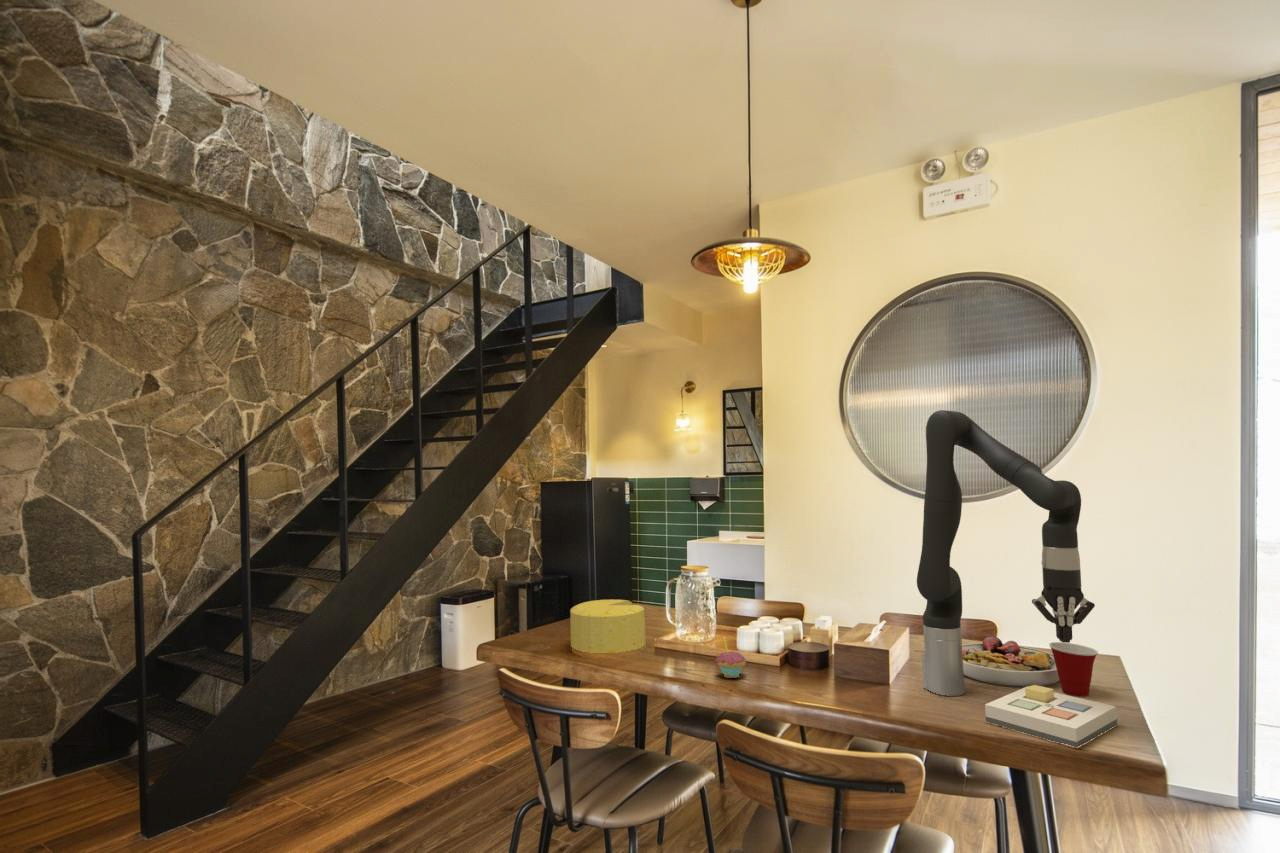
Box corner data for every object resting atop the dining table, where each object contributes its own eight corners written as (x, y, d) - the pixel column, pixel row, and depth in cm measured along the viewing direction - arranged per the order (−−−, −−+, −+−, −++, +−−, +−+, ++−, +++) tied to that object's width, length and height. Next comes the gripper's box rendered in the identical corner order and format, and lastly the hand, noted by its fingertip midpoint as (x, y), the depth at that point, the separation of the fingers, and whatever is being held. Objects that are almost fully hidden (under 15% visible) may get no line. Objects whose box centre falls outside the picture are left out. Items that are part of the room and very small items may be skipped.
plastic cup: (1107, 702, 164) (1103, 653, 165) (1057, 697, 168) (1053, 650, 169) (1095, 688, 174) (1091, 642, 175) (1048, 684, 178) (1045, 639, 179)
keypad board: (986, 722, 152) (984, 704, 153) (1029, 703, 164) (1028, 686, 165) (1077, 749, 137) (1075, 728, 137) (1117, 725, 149) (1115, 706, 149)
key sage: (1011, 714, 152) (1010, 703, 152) (1020, 710, 155) (1019, 699, 155) (1030, 720, 149) (1030, 709, 149) (1040, 715, 151) (1039, 704, 151)
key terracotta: (1045, 723, 146) (1044, 712, 146) (1054, 719, 149) (1053, 708, 149) (1067, 729, 142) (1066, 718, 143) (1076, 725, 145) (1075, 713, 145)
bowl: (1087, 693, 172) (1085, 662, 172) (964, 688, 178) (962, 658, 178) (1042, 661, 201) (1040, 635, 202) (937, 658, 207) (936, 632, 208)
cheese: (656, 642, 235) (655, 600, 236) (627, 662, 211) (626, 614, 212) (591, 637, 245) (590, 596, 246) (556, 655, 221) (556, 610, 222)
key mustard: (1025, 698, 157) (1025, 688, 157) (1034, 694, 159) (1033, 684, 159) (1045, 703, 153) (1044, 693, 153) (1054, 699, 156) (1053, 689, 156)
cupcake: (714, 679, 190) (712, 637, 191) (720, 671, 198) (718, 631, 199) (743, 682, 187) (741, 639, 188) (748, 673, 195) (747, 632, 196)
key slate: (1060, 716, 150) (1060, 705, 150) (1069, 711, 153) (1068, 701, 153) (1082, 721, 147) (1081, 710, 147) (1090, 717, 149) (1089, 706, 149)
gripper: (1036, 568, 150) (1039, 644, 149) (1100, 569, 148) (1104, 647, 146) (1023, 563, 158) (1027, 636, 156) (1085, 564, 155) (1088, 638, 154)
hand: (1064, 641), depth 151 cm, fingers closed
